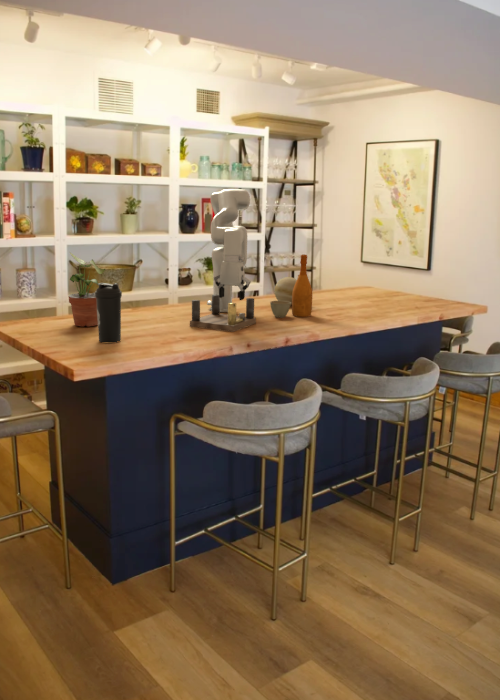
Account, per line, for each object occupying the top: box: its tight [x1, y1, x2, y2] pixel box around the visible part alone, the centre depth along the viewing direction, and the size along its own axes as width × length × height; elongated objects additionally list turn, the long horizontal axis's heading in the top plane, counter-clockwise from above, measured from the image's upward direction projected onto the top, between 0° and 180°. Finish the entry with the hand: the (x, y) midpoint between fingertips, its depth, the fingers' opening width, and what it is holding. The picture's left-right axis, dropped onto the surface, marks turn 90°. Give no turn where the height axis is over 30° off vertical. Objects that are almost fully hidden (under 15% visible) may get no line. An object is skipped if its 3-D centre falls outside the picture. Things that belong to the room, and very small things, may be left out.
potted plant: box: [68, 252, 106, 328], centre depth 285 cm, size 16×15×35 cm
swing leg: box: [227, 302, 246, 325], centre depth 287 cm, size 13×4×9 cm, turn 155°
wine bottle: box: [291, 253, 313, 318], centre depth 318 cm, size 10×10×30 cm
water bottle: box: [94, 282, 123, 343], centre depth 258 cm, size 10×10×23 cm
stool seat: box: [189, 294, 257, 333], centre depth 295 cm, size 22×22×12 cm
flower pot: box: [270, 300, 292, 318], centre depth 317 cm, size 10×10×7 cm
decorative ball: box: [273, 276, 297, 306], centre depth 349 cm, size 15×15×15 cm
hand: (231, 298), depth 282 cm, fingers open, 9 cm apart
